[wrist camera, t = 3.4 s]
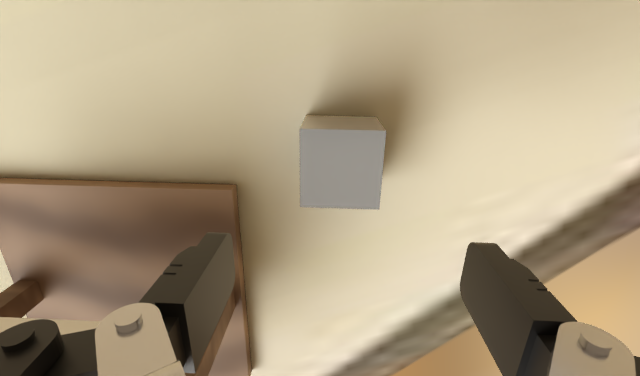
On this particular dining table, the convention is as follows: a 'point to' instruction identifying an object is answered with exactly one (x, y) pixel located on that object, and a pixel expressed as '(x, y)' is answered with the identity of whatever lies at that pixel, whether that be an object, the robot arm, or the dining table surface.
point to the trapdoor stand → (115, 251)
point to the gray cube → (341, 161)
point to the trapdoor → (63, 325)
